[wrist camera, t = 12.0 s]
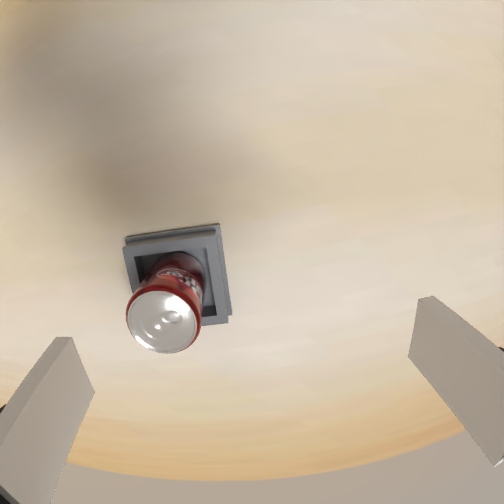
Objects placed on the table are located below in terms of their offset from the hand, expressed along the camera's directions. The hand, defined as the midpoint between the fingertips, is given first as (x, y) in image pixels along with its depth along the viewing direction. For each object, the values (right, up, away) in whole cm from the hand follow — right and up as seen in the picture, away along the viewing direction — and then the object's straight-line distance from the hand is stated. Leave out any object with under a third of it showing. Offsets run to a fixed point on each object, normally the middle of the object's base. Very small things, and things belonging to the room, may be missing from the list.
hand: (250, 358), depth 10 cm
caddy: (-9, +1, +29) cm, 31 cm away
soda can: (-9, 0, +28) cm, 30 cm away
